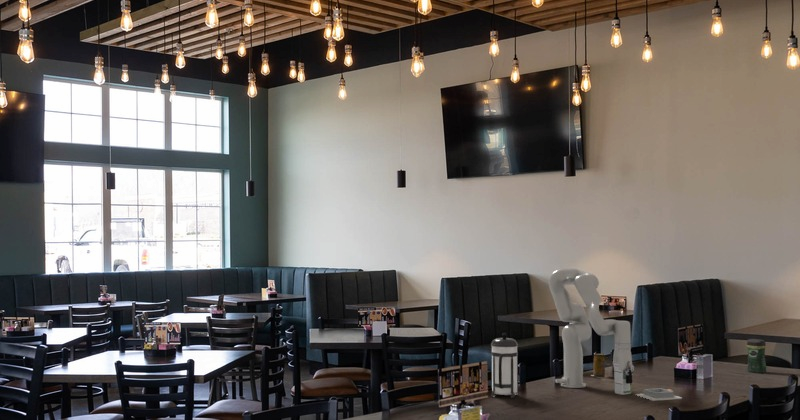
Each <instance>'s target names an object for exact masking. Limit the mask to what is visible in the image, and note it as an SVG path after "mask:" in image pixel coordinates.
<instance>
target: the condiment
mask: <svg viewBox="0 0 800 420" xmlns="http://www.w3.org/2000/svg"><path fill="white" fill-rule="evenodd" d="M605 374H606V360H605V354H604V353H594V355H593V374H590V376H591V377H594V378H599V379H600V378H605V379H606V378H609V376H607V375H605Z"/></svg>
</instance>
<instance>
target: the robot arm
mask: <svg viewBox="0 0 800 420" xmlns="http://www.w3.org/2000/svg"><path fill="white" fill-rule="evenodd" d="M599 284H600V283H599V279H598V278H597V276H596V275H595V274H593V273H590V272H587V271H583V270H580V269H578V268H577V269H576V268H559V269H556V270H555V271H553V272H552V273H551V274H550V276H549V278H548V287H549V291H550V293H551V296H552V298H553V302H554V304H555V308H556V311H557V315H558V318H559V320H560V321H562V322H564V323H568V324H566V325H565V326H564V327H563V328H562V330H561V339H562V343H563V345H562V346H563V376H562V377H561V378H555V379H554V382H555V383H556V384H558V383H559V384H560V387H563V388H571V389H580V388H581V389H582V388H586V387H587V383H584V376H583V375H584V363H583V362H584V360H583V359H584V356H583V355H584V353H583V351H584V350H583V346H582V343H581V342H586V341H588V340H589V339H591V336H592V329H593V330H594V332H595V333H596V334H597V335H598V336H612V335H614V350H613V355H612V357H613V358H612V360H613V361H612V362H611V363H612V368H613V369H614V364H618V366H619V370H622V371H624V370H625V372H626V374H627V375H626V383H627V384H629V383H631V384H633V375H634V370H635V366H634V365H633V357H632V351H631V349H632V348H631V346H632V344H631V343H632V342H631V339H632V338H631V322H630V321H628V320H619V319H618V320H616V319H612V318H611V319H610V318H609V319H604V318H603V316H602V314H601V312H600V308H599V307H600V304H601V303H602V300H603V299H602V296H601V295H600V293H599V291H598V290H597V289H598V287H599ZM566 286H574V287H575V288H576V290H577V292H578V294H579V296H580V297H581V299H582V301H583V303H584V304H585V306H586V310H585V308H584V306H583V305H582V304H580V303H579V302H573V301H572V299H571V295H570V293H569V291H568V290H567V288H566ZM569 323H570V324H569ZM591 327H592V328H591ZM628 371H629V372H628Z"/></svg>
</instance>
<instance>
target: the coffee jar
mask: <svg viewBox="0 0 800 420" xmlns="http://www.w3.org/2000/svg"><path fill="white" fill-rule="evenodd" d="M746 348H747V365H746V366H747V367H746V369H747V372H749V373H754V372H756V374H761V373H762V374H765V373H766V372H767V364H766V351H765V350H766V348H767V345H766V341H765V339H760V338H759V339H758V338H749V339H747V340H746Z"/></svg>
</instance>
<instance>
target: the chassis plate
mask: <svg viewBox="0 0 800 420" xmlns="http://www.w3.org/2000/svg"><path fill="white" fill-rule="evenodd" d="M642 392H643V393H635V394H634V395H635V396H636V395H637V396H636V397H639V396H640V397H639V398H642V397H643V398H642V399H645V398H646V399H647V400H648V399H649V401H652V402H655V401H671V400H673V401H674V400H682V399H683V397H681V396H678V395H675V391H674V390H673V389H670V388H668V389H665V388H662V387H660V388H659V387H658V388H643V389H642Z"/></svg>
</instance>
